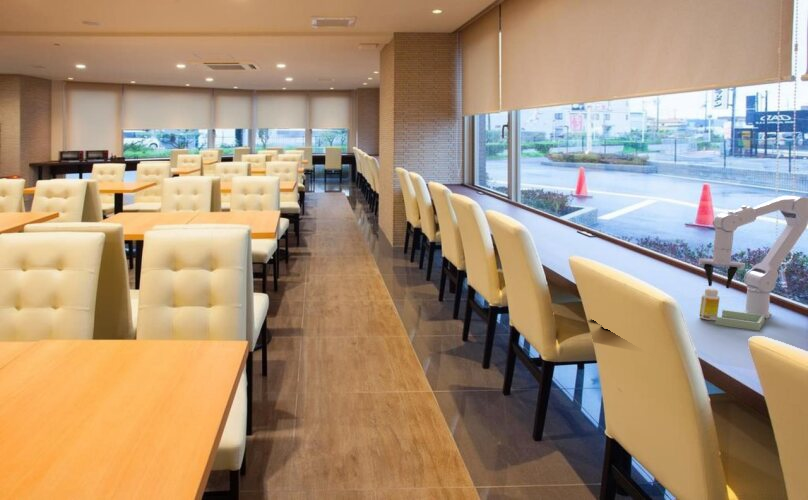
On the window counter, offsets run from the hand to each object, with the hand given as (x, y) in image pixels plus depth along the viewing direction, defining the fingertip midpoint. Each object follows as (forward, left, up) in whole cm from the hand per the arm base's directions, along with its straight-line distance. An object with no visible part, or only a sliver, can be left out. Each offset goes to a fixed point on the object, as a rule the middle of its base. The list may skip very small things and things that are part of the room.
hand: (718, 286), depth 229 cm
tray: (+7, +8, -10) cm, 15 cm away
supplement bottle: (+7, -2, -11) cm, 13 cm away
